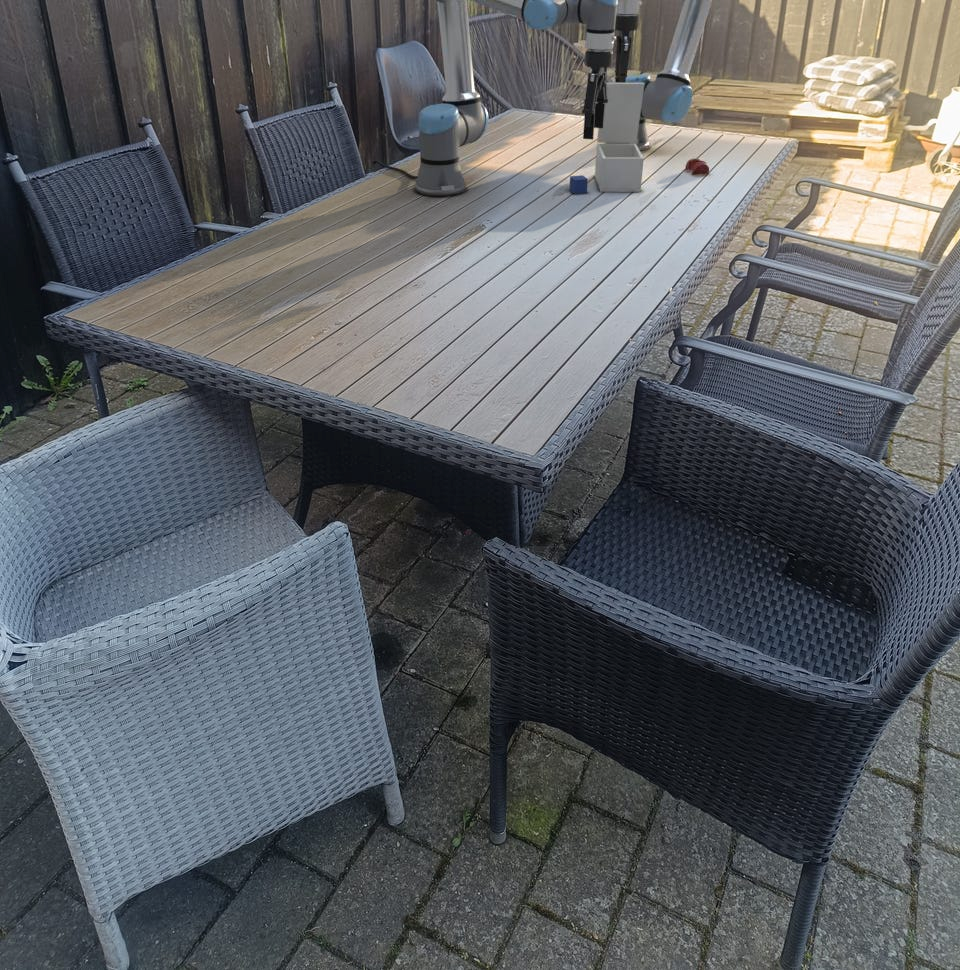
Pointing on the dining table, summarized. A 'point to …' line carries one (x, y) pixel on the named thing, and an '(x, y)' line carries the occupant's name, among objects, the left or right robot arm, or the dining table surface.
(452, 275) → the dining table surface
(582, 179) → the block
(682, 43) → the right robot arm
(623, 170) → the chest
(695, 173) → the dark red lumpy piece
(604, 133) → the lid
